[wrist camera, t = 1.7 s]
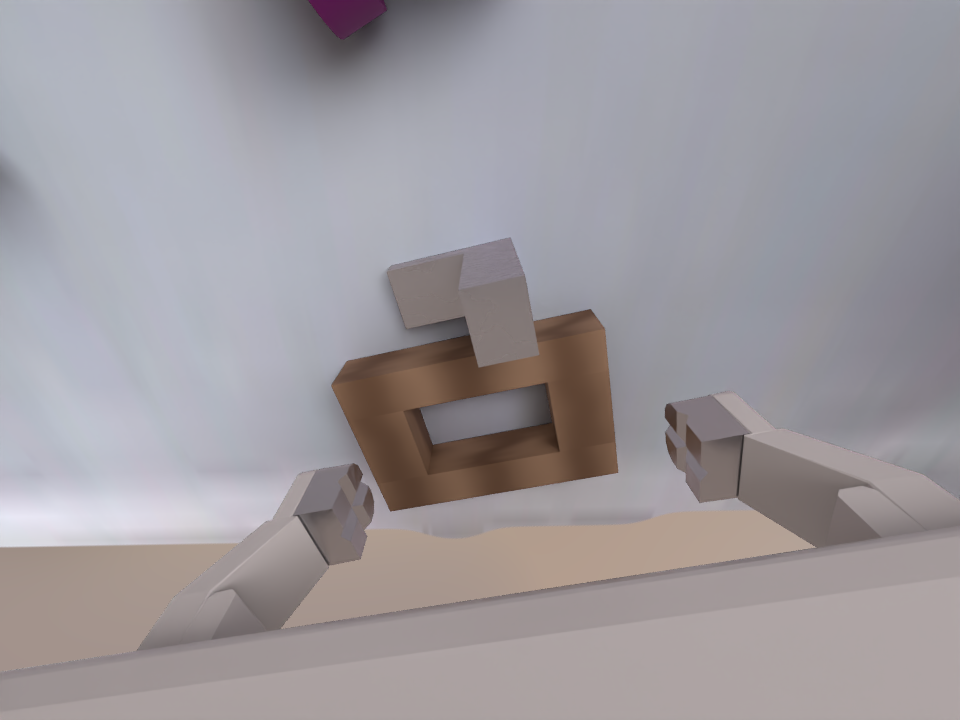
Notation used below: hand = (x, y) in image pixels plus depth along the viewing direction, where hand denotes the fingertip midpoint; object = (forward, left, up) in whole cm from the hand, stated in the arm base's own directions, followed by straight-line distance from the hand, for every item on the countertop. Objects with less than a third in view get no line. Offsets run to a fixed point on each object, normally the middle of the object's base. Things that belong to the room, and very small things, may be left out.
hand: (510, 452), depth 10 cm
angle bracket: (+2, 0, -18) cm, 18 cm away
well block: (+3, +10, -18) cm, 21 cm away
